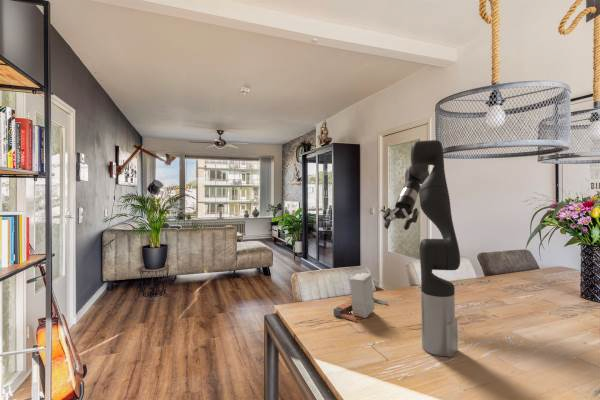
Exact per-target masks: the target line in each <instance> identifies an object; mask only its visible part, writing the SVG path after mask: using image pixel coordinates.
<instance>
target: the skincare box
mask: <svg viewBox="0 0 600 400" xmlns="http://www.w3.org/2000/svg"><path fill="white" fill-rule="evenodd" d="M372 277H373V276H372V273H367V272H365V273H364V272H358V273H356V274H354V275H353V276H352V277H351V278H349V286H350V295H351V297H350V298H351V301H352V309H353V315H355V316H360V317H363V318H362V319H367V318H368V316H370V313H371V312H372V311H373V312H374V311H375V310H376V309H375V302H374V298H375V297H374V290H373V278H372ZM371 314H372V313H371Z"/></svg>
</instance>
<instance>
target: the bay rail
mask: <svg viewBox="0 0 600 400" xmlns="http://www.w3.org/2000/svg"><path fill="white" fill-rule="evenodd" d="M374 303H378V304H381V305H385V306H386V305H388V301H387V300H383V299H379V298H375V297H374ZM351 311H353V309H352V299H351V300H348V301H346V302H344V303H342V304H340V305H338V306H336V308H333V316H334V315H335V316H334V317H337V316H338V317H337V318H341V317H342V319H344V320H348V319H349V320H348V321H351V320H352V322H354V321H355V322H354V323H357V322H358V321H360V320H362V319H364V318H363V317H360V316H355V315H353V314H352V313H351ZM349 312H350V313H349ZM373 313H374V310H373V311H372V312H371V313H370V314H373ZM370 314H369V315H370ZM357 319H358V320H357ZM356 321H357V322H356Z"/></svg>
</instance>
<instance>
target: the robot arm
mask: <svg viewBox="0 0 600 400" xmlns="http://www.w3.org/2000/svg"><path fill="white" fill-rule="evenodd" d="M444 160H445V159H444V148H443V144H442V142H441V141H440V140H437V139H432V140H430V139H429V140H418V141H415V142H413V143H412V145H411V148H410V164H411V165H410V166H408V167H407V168H406V170H405V174H404V185H403V187H402V189H401V191H400V193H399V196H398V197H397V200H396V203H395V206H394V208H393V209H391V208H390V207H387V208H386V210H385V212H384V214H383V217H382V218H383V220H384V228H385V229H387V230H388V229H389V228H390V225H391V223H392V222H393V221H396V220H397V219H398V220H400V219H402V220H405V219H406V220H405V222H404V225H403V228H404V231H408V230H409V229H410V227H411V224H412V223H415V224H416V223H417V221H418V217H419V214H420V212H419V210H418V208H417V207H415V205H416V202H417V199H418V197H419V205H420V209H421V211H422V212H423V214H424V215H425V216H426V217H427V218H428V219H429V220H430V221H431V223H432V224H434V225H435V227H436V228H437V229H438V230H439V232H440V234H441V237H442V238H422V240H421V241H420V243H419V262H420V279H421V280H420V283H421V284H420V290H421V294H420V295H421V298H420V299H421V346H422V349H423V350H424V351H425V352H427V353H428V354H431V355H435V356H440V357H449V358H452V357H453V356H454V355H455V354H456V353H457V351H458V350H459V349H458V348H459V347H458V346H459V345H458V343H459V342H458V341H459V340H458V338H459V337H458V335H459V334H458V318H457V317H456V305H455V304H456V303H455V302H456V301H455V300H456V294H455V288H456V287H455V285H454V284H453V283H452V282H451V281H449V280H447V279H445V278H441V277H439V276H437V275H436V274H435V273H433V271H456V270H458V269H459V268H460V266H461V265H460V264H461V254H460V253H461V252H460V248H459V243H458V240H457V235H456V232H455V227H454V222H453V216H452V208H451V207H452V206H451V201H450V200H451V199H450V193H449V189H448V184H447V178H446V173H445V172H446V171H445V161H444ZM429 166H433V168H432V170H431V172H429ZM414 207H415V208H414ZM410 215H412V216H411V218H410Z"/></svg>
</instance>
